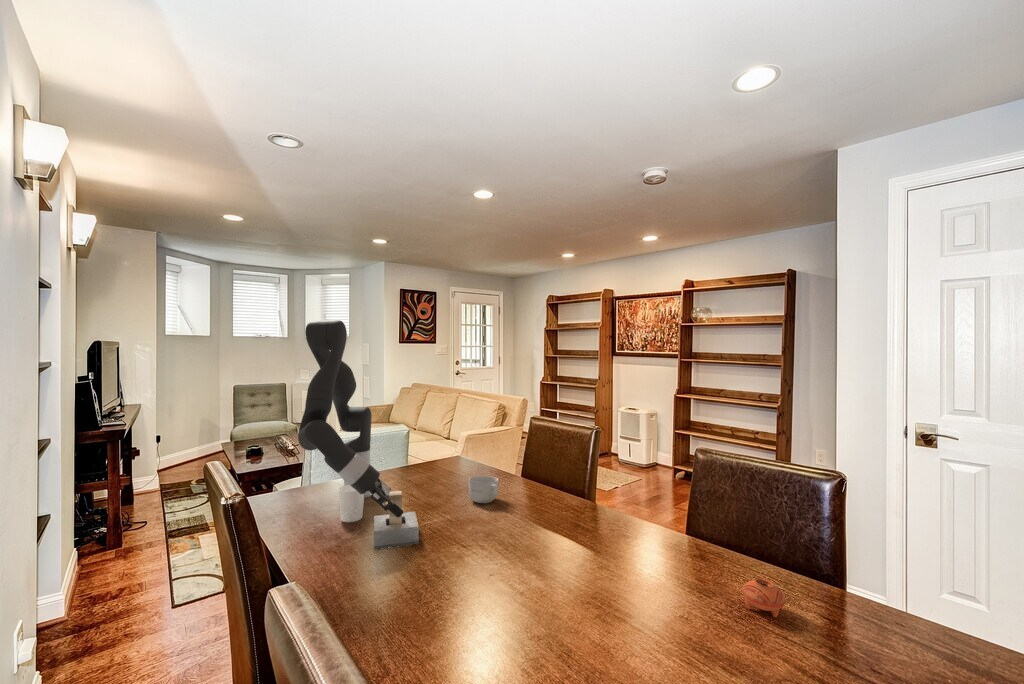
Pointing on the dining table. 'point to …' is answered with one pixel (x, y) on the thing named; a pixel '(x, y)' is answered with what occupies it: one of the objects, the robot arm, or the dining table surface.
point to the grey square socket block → (395, 531)
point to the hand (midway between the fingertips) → (400, 509)
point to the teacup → (483, 488)
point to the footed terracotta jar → (763, 595)
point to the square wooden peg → (398, 501)
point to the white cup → (350, 504)
